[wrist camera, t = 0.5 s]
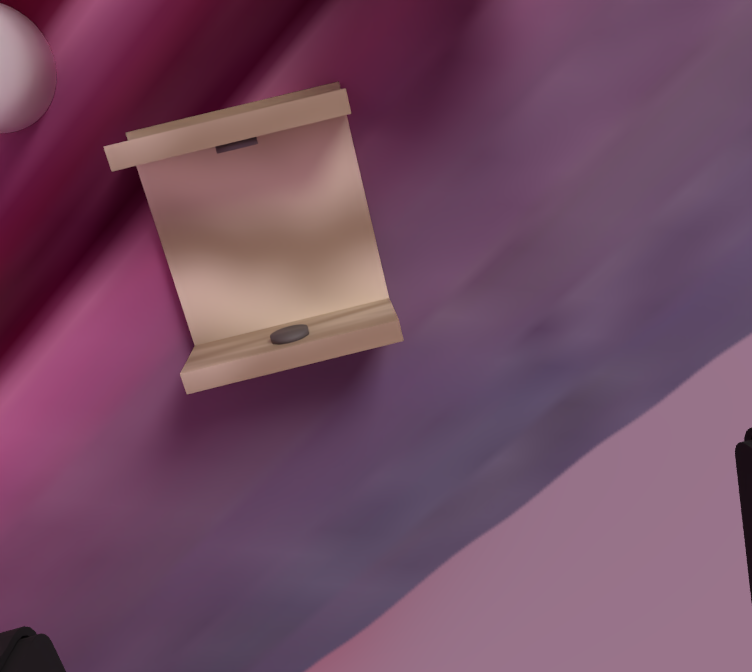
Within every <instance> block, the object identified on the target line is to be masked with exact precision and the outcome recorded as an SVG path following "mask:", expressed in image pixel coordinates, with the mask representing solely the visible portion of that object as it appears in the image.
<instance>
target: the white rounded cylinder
mask: <svg viewBox="0 0 752 672" xmlns="http://www.w3.org/2000/svg"><path fill="white" fill-rule="evenodd" d="M56 81H57V72H56V65H55V60H54V56H53V53H52V51H51V48H50V46H49V44H48V42H47V40H46V39H45V37H44V35H43V34H42V33H41V31H40V30H39V29H38V28H37V27H36V25H35V24H34V23H33V22H32V21H31V20H29V19H28V18H27V17H26V16H25V15H23V14H22V13H20V12H19V11H17V10H15V9H13V8H12V7H10V6H7V5H4V4H2V3H0V133H10V132H16V131H19V130H22V129H24V128H27V127H29V126H30V125H32V124H33V123H35V122H36V121H37V120H38V119H40V118H41V117H42V116H43V114H44V113H45V112H46V111H47V109H48V107H49V106H50V104H51V102H52V99H53V97H54V93H55V89H56Z"/></svg>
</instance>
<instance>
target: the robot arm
mask: <svg viewBox="0 0 752 672" xmlns="http://www.w3.org/2000/svg"><path fill="white" fill-rule="evenodd" d="M735 458H736V467H737V475H738V485H739V494H740V502H741V512H742V520H743V529H744V538H745V547H746V556H747V564H748V573H749V583H750V592H751V601H752V428H750V429H748V431H746V434H745V438H744V442H740V443H738V444H737V445H736V448H735ZM0 672H66V671H65V669H64V667H63V664H62V662H61V660H60V658H59V656H58V654H57V652H56V650H55V648H54V646H53V644H52V642H51V640H50V639H49V637H48V636H46V635H45V634H38V635H37V634H36V632H35V631H34V630H33V629H31V628H30V627H25V626H24V627H20V628H17V629H13V630H9V631H6V632H2V633H0Z"/></svg>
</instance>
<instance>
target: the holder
mask: <svg viewBox="0 0 752 672" xmlns="http://www.w3.org/2000/svg"><path fill="white" fill-rule="evenodd" d="M348 114H351V109H350V105H349V101H348V96H347V92H346V88H345V89H340V84H339V81H338V82H334V83H330V84H326V85H322V86H318V87H314V88H309V89H305V90H301V91H297V92H293V93H289V94H284V95H280V96H276V97H272V98H268V99H264V100H260V101H255V102H251V103H247V104H243V105H239V106H235V107H230V108H226V109H222V110H218V111H214V112H210V113H206V114H201V115H197V116H193V117H189V118H185V119H181V120H176V121H172V122H168V123H164V124H160V125H156V126H152V127H147V128H143V129H139V130H135V131H131V132H127V133H126V136H127V139H128V141H125V142H121V143H117V144H113V145H109V146H104V150H105V153H106V156H107V159H108V162H109V165H110V168H111V171H116V170H120V169H125V168H129V167H133V166H136V167H137V170H138V173H139V176H140V179H141V182H142V185H143V188H144V191H145V194H146V198H147V201H148V204H149V207H150V210H151V213H152V216H153V219H154V222H155V225H156V228H157V231H158V234H159V237H160V241H161V244H162V247H163V250H164V253H165V256H166V259H167V262H168V265H169V268H170V271H171V274H172V277H173V281H174V284H175V287H176V290H177V293H178V296H179V299H180V302H181V305H182V308H183V311H184V314H185V317H186V320H187V324H188V327H189V330H190V333H191V336H192V339H193V342H194V345H195V346H194V348H193V350H192V352H191V354H190V356H189V358H188V360H187V362H186V363H185V365H184V367H183V369H182V371H181V373H180V376H181V379H182V382H183V385H184V388H185V391H186V394H191V393H195V392H199V391H203V390H207V389H211V388H215V387H219V386H223V385H227V384H231V383H235V382H239V381H243V380H247V379H251V378H255V377H259V376H264V375H268V374H272V373H276V372H280V371H284V370H288V369H292V368H296V367H300V366H304V365H308V364H312V363H316V362H320V361H324V360H328V359H332V358H336V357H340V356H344V355H348V354H352V353H356V352H360V351H364V350H369V349H373V348H377V347H381V346H385V345H389V344H393V343H397V342H401V341H404V340H403V336H402V331H401V327H400V323H399V319H398V317H397V315H396V312H395V310H394V308H393V306H392V304H391V301H390V299H389V296H388V292H387V287H386V283H385V279H384V274H383V270H382V266H381V261H380V257H379V253H378V248H377V244H376V240H375V235H374V231H373V227H372V222H371V218H370V214H369V210H368V205H367V201H366V197H365V192H364V188H363V184H362V179H361V175H360V171H359V166H358V162H357V158H356V153H355V149H354V145H353V141H352V136H351V132H350V128H349V123H348V119H347V115H348Z"/></svg>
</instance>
